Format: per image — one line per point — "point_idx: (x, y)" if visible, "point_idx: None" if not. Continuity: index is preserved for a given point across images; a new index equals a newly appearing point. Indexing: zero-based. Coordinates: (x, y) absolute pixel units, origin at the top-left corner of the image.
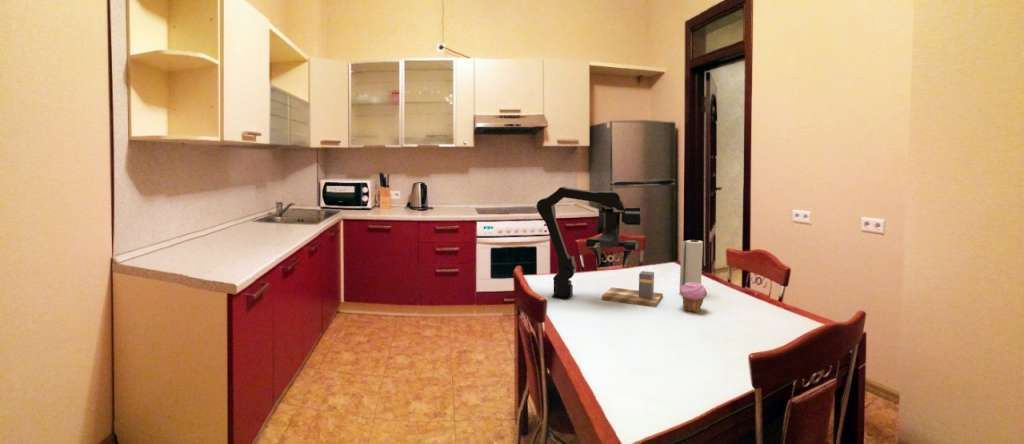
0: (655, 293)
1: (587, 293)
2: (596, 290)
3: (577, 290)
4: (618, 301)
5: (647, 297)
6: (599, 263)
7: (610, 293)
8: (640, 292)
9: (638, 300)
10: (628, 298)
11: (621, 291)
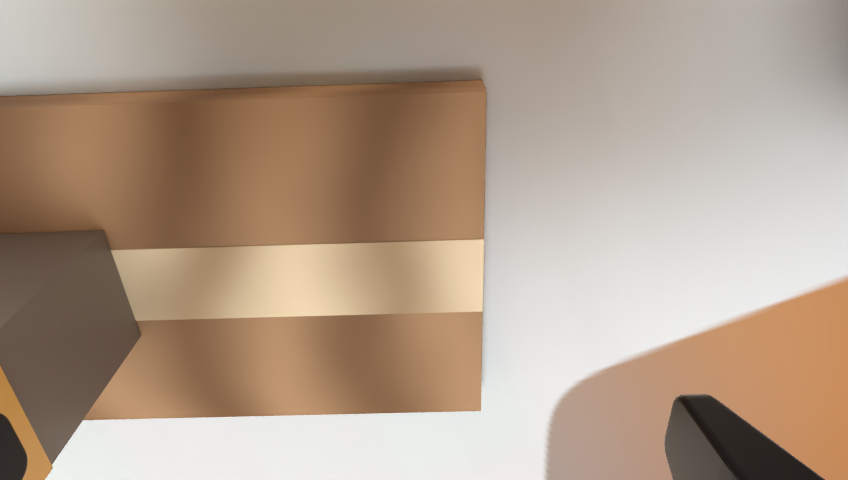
0: None
1: (687, 223)
2: (615, 345)
3: (808, 271)
4: (282, 88)
5: (3, 238)
6: (698, 427)
7: (422, 224)
8: (52, 259)
9: (38, 118)
10: (170, 139)
11: (345, 334)
